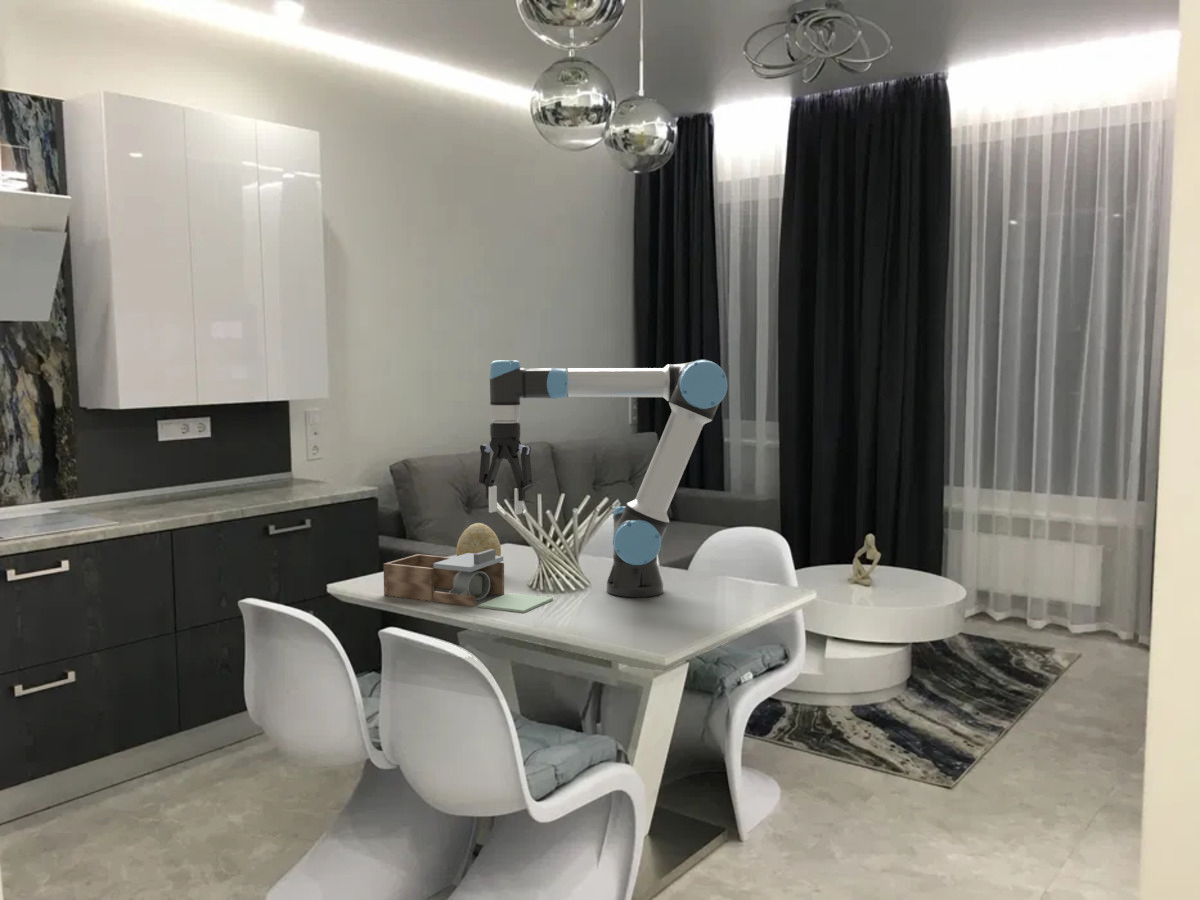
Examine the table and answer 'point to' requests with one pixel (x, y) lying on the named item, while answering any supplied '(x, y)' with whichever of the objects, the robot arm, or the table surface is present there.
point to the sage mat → (515, 602)
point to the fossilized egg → (478, 540)
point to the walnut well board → (433, 580)
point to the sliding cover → (470, 561)
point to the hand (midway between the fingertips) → (505, 512)
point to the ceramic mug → (471, 584)
